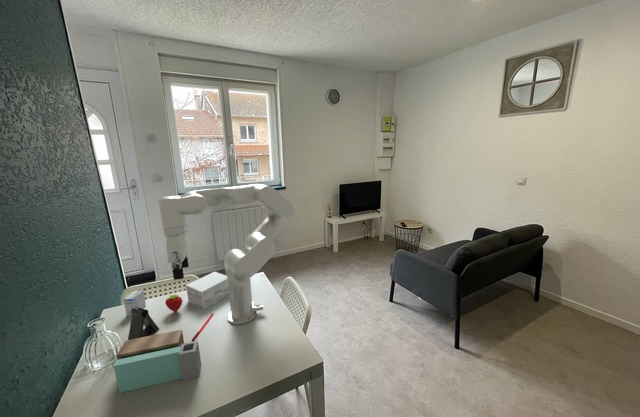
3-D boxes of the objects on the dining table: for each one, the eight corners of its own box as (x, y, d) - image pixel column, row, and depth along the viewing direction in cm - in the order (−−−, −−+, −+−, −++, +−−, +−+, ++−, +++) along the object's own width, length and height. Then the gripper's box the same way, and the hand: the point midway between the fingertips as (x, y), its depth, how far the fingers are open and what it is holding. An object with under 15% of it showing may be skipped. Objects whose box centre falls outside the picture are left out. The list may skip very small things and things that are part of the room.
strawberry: (177, 316, 118) (174, 297, 115) (163, 315, 119) (160, 295, 117) (187, 309, 123) (184, 290, 121) (173, 307, 125) (170, 288, 123)
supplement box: (216, 286, 144) (214, 271, 142) (232, 292, 137) (230, 276, 135) (187, 301, 130) (185, 284, 128) (203, 309, 123) (201, 291, 121)
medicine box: (136, 306, 126) (133, 290, 124) (146, 305, 127) (143, 289, 125) (126, 316, 119) (122, 299, 117) (136, 315, 119) (133, 298, 117)
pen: (189, 344, 101) (189, 342, 101) (212, 314, 120) (212, 312, 119) (192, 344, 101) (191, 342, 101) (214, 314, 120) (213, 312, 119)
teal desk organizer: (201, 364, 91) (197, 340, 89) (199, 376, 86) (195, 350, 84) (124, 382, 84) (118, 356, 82) (117, 396, 80) (111, 369, 77)
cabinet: (199, 347, 99) (197, 326, 97) (194, 374, 87) (191, 351, 85) (129, 362, 92) (125, 340, 91) (113, 394, 80) (107, 370, 78)
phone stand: (137, 344, 101) (132, 317, 99) (127, 340, 104) (122, 313, 101) (159, 329, 109) (154, 304, 107) (149, 326, 112) (145, 301, 109)
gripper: (169, 224, 101) (175, 265, 105) (156, 238, 85) (164, 285, 89) (190, 222, 104) (196, 262, 107) (181, 235, 87) (188, 282, 91)
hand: (181, 272), depth 98 cm, fingers open, 9 cm apart
